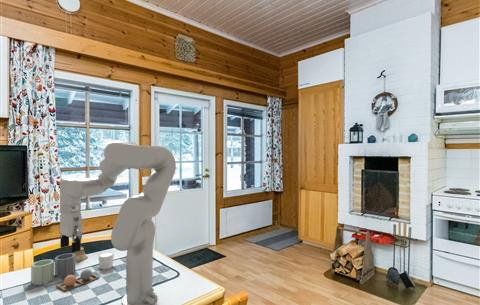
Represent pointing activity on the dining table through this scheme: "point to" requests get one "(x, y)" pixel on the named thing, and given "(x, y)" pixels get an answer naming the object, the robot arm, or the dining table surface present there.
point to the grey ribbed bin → (64, 265)
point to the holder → (77, 283)
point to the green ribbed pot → (42, 272)
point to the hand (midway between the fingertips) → (70, 249)
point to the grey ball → (86, 274)
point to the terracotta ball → (70, 280)
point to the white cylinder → (106, 260)
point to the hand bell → (80, 255)
